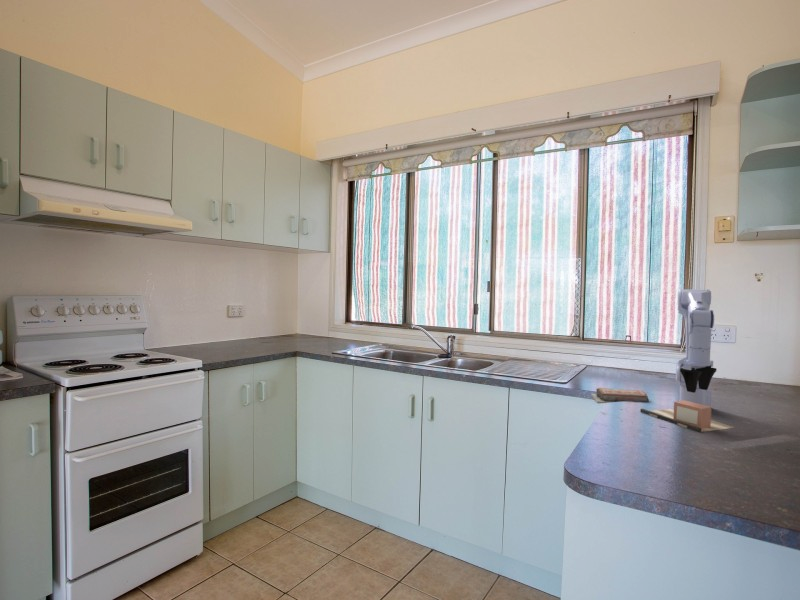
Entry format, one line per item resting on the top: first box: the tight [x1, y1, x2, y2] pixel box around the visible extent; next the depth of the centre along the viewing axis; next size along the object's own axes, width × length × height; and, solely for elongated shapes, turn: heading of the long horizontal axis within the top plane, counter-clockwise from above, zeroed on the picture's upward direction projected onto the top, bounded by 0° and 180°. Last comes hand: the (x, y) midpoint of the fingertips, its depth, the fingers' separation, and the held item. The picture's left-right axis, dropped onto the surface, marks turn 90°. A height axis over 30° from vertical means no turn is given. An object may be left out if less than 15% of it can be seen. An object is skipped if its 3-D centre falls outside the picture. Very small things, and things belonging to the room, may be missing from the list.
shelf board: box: [640, 408, 736, 433], centre depth 137 cm, size 15×20×2 cm
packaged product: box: [591, 387, 650, 404], centre depth 163 cm, size 18×5×10 cm
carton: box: [673, 400, 712, 429], centre depth 133 cm, size 5×8×6 cm, turn 27°
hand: (697, 390), depth 138 cm, fingers open, 7 cm apart
